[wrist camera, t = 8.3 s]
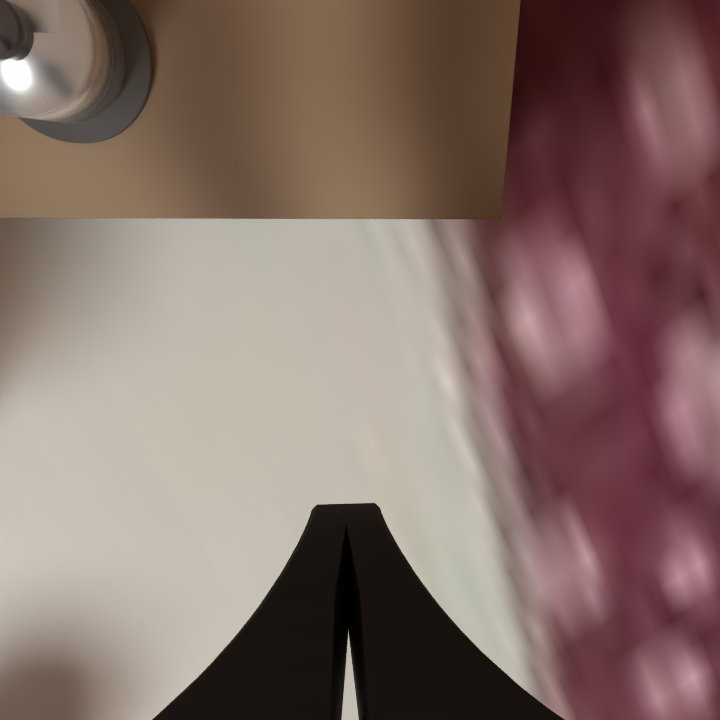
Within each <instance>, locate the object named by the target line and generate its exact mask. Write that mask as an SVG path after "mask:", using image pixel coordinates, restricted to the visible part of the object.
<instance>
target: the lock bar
mask: <svg viewBox="0 0 720 720" xmlns="http://www.w3.org/2000/svg"><path fill="white" fill-rule="evenodd" d="M124 74H125V51H124V45H123V41H122V38H121V34H120V32H119V30H118V27H117V25H116V23H115V21H114V19H113V17H112V16H111V14H110V13H109V11H108V10H107V8H106V7H105V6H104V5H103V4H102V2H101V1H100V0H0V114H4V115H8V116H15V117H23V118H30V119H38V120H45V121H52V122H60V123H79V122H84V121H87V120H90V119H93V118H94V117H96V116H98V115H100V114H101V113H103V112H104V111H105V110H106V109H107V108H108V107H109V106H110V105H111V104H112V103H113V101H114V100H115V98H116V97H117V95H118V93H119V91H120V89H121V86H122V83H123V79H124Z"/></svg>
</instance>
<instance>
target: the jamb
mask: <svg viewBox="0 0 720 720" xmlns="http://www.w3.org/2000/svg"><path fill="white" fill-rule="evenodd" d="M100 1H101V2H102V4H103V5H104V6H105V7H106V8H107V10H108V11H109V13H110V14H111V16H112V17H113V19H114V21H115V23H116V25H117V27H118V30H119V32H120V34H121V38H122V41H123V45H124V51H125V74H124V79H123V83H122V86H121V89H120V91H119V93H118V95H117V97H116V98H115V100H114V101H113V103H112V104H111V105H110V106H109V107H108V108H107V109H106V110H105V111H104V112H103V113H101V114H100V115H98V116H96V117H94V118H93V119H90V120H87V121H84V122H79V123H60V122H52V121H45V120H38V119H30V118H23V117H15V116H8V115H4V114H0V218H233V219H501V214H502V203H503V192H504V181H505V169H506V158H507V147H508V136H509V125H510V113H511V102H512V91H513V80H514V68H515V57H516V46H517V35H518V24H519V12H520V1H521V0H100Z"/></svg>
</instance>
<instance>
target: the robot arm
mask: <svg viewBox="0 0 720 720" xmlns="http://www.w3.org/2000/svg"><path fill="white" fill-rule="evenodd" d="M348 630H349V638H350V647H351V656H352V664H353V673H354V681H355V690H356V698H357V707H358V715H359V720H564V719H563V718H561V717H560V716H558V715H557V714H556V713H554V712H553V711H551V710H550V709H548V708H547V707H546V706H544V705H543V704H542V703H540V702H539V701H538V700H537V699H535V698H534V697H533V696H532V695H530V694H529V693H528V692H526V691H525V690H524V689H523V688H521V687H520V686H519V685H518V684H517V683H516V682H514V681H513V680H512V679H511V678H510V677H509V676H508V675H507V674H506V673H505V672H503V671H502V670H501V669H500V668H499V667H498V666H497V665H496V664H495V663H493V662H492V661H491V660H490V659H489V658H488V657H487V656H486V655H485V654H483V653H482V652H481V651H480V650H479V649H478V648H477V647H476V645H475V644H474V643H473V642H472V641H471V640H470V639H469V638H468V637H467V636H466V635H465V634H464V633H463V632H462V631H461V630H460V629H459V628H458V626H457V625H456V624H455V623H454V622H453V621H452V620H451V619H450V618H449V616H448V615H447V614H446V613H445V612H444V610H443V609H442V608H441V607H440V606H439V604H438V603H437V602H436V601H435V599H434V598H433V597H432V595H431V594H430V593H429V591H428V590H427V589H426V587H425V586H424V585H423V583H422V582H421V581H420V579H419V578H418V576H417V575H416V573H415V572H414V571H413V569H412V567H411V566H410V564H409V563H408V561H407V560H406V558H405V556H404V555H403V553H402V552H401V550H400V548H399V547H398V545H397V543H396V542H395V540H394V538H393V536H392V534H391V532H390V531H389V529H388V527H387V525H386V522H385V520H384V518H383V515H382V513H381V510H380V508H379V507H378V506H377V505H376V504H375V503H362V504H326V505H316V506H315V507H314V508H313V509H312V511H311V515H310V518H309V520H308V523H307V525H306V527H305V530H304V532H303V534H302V536H301V538H300V540H299V542H298V544H297V546H296V548H295V550H294V551H293V553H292V555H291V557H290V559H289V560H288V562H287V564H286V566H285V567H284V569H283V571H282V572H281V574H280V576H279V577H278V579H277V580H276V582H275V583H274V585H273V586H272V588H271V589H270V591H269V592H268V594H267V595H266V597H265V598H264V600H263V601H262V603H261V604H260V605H259V607H258V608H257V609H256V611H255V612H254V614H253V615H252V616H251V617H250V619H249V620H248V621H247V623H246V624H245V625H244V626H243V628H242V629H241V630H240V631H239V633H238V634H237V635H236V636H235V637H234V639H233V640H232V641H231V642H230V643H229V644H228V645H227V646H226V648H225V649H224V650H223V651H222V652H221V653H220V654H219V655H218V657H217V658H216V659H215V660H214V661H213V662H212V663H211V664H210V665H209V666H208V667H207V668H206V669H205V670H204V672H203V673H202V674H201V675H200V676H199V677H198V678H197V679H196V680H195V681H194V682H192V683H191V684H190V685H189V686H188V687H187V688H186V689H185V690H184V691H183V692H182V693H181V694H180V695H179V696H177V697H176V698H175V699H174V700H173V701H172V702H171V703H170V704H169V705H168V706H167V707H166V708H165V709H163V710H162V711H161V712H160V713H159V714H158V715H157V716H156V717H155V718H153V719H152V720H341V716H342V704H343V691H344V678H345V666H346V653H347V640H348Z"/></svg>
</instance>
